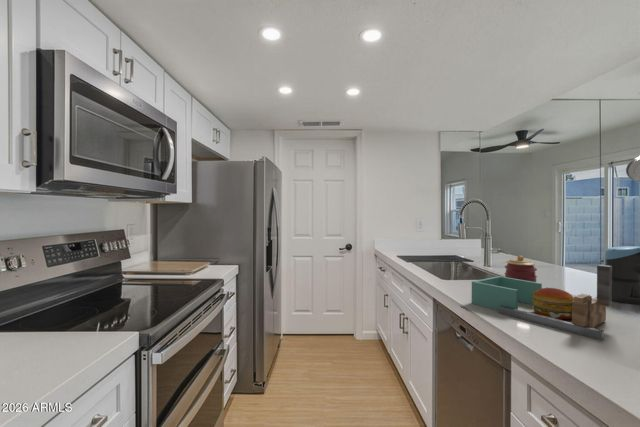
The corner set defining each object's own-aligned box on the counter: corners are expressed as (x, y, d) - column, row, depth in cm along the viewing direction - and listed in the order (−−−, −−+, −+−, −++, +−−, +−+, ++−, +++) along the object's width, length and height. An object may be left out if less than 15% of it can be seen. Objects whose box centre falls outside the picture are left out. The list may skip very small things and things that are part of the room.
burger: (532, 307, 122) (532, 282, 122) (576, 314, 114) (576, 288, 114) (530, 316, 112) (530, 289, 112) (578, 325, 104) (579, 295, 104)
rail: (501, 312, 116) (501, 305, 116) (603, 338, 92) (603, 330, 92) (498, 312, 115) (498, 306, 115) (601, 340, 91) (601, 331, 91)
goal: (498, 295, 140) (498, 276, 140) (541, 305, 126) (541, 283, 126) (471, 303, 128) (471, 281, 128) (515, 314, 114) (516, 290, 114)
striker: (596, 318, 109) (596, 262, 109) (617, 323, 104) (617, 264, 104) (571, 331, 96) (572, 268, 96) (594, 337, 92) (595, 270, 92)
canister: (500, 288, 154) (500, 253, 154) (529, 290, 151) (529, 254, 151) (510, 295, 141) (510, 256, 141) (542, 297, 138) (542, 257, 138)
